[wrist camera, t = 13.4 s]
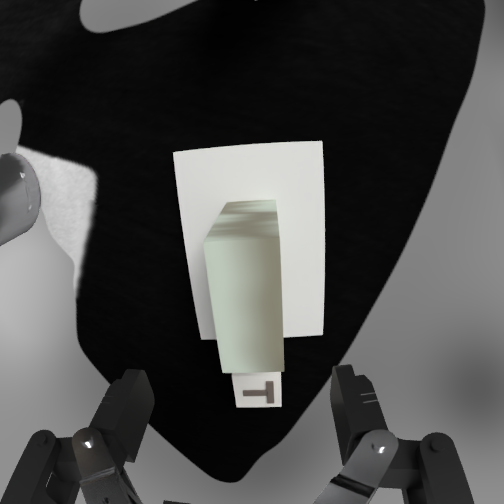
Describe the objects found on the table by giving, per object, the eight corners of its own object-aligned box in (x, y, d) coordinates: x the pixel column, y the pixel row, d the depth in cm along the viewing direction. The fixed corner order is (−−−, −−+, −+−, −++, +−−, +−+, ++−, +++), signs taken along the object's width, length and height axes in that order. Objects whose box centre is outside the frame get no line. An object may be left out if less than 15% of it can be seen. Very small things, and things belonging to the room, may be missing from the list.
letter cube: (240, 378, 34) (236, 408, 30) (236, 347, 32) (231, 377, 28) (280, 377, 34) (281, 407, 29) (279, 345, 32) (280, 376, 28)
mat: (202, 334, 32) (201, 339, 31) (175, 152, 26) (173, 152, 25) (321, 330, 31) (322, 334, 30) (320, 141, 25) (322, 141, 24)
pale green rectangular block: (236, 299, 29) (222, 372, 20) (226, 202, 26) (203, 242, 17) (280, 297, 29) (284, 371, 20) (275, 199, 26) (279, 237, 17)
